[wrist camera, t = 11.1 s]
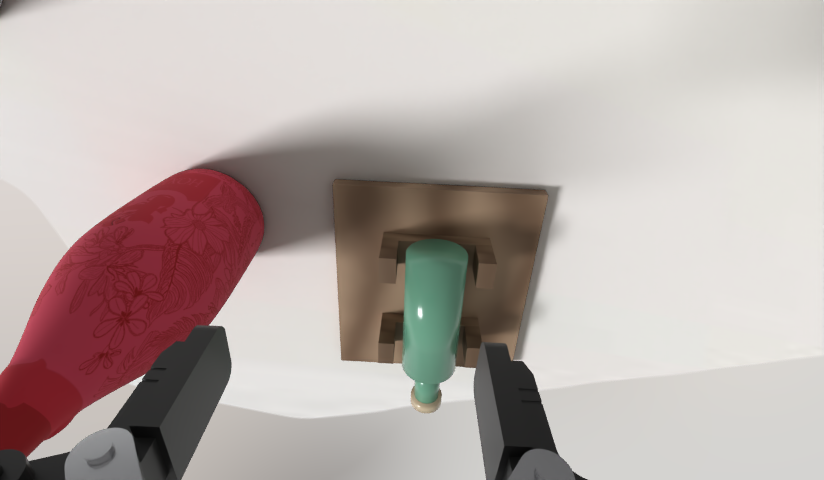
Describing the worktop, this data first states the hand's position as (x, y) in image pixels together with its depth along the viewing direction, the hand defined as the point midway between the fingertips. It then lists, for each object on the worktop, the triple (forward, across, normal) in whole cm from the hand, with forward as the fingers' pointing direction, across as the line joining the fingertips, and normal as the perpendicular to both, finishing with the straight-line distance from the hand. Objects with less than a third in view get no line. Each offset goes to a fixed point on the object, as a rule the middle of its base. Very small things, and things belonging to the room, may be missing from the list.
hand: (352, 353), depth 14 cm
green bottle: (+22, -5, +17) cm, 28 cm away
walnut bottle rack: (+24, -5, +14) cm, 28 cm away
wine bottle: (+25, +16, +9) cm, 31 cm away
